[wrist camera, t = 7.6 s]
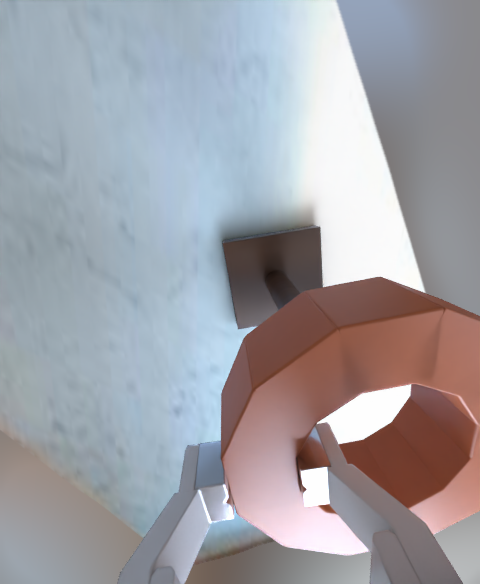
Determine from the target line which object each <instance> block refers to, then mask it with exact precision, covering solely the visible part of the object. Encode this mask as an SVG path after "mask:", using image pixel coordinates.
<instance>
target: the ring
mask: <svg viewBox="0 0 480 584" xmlns="http://www.w3.org/2000/svg"><path fill="white" fill-rule="evenodd" d="M409 384H411V396H410V397H409V399H408V400H407V401H406V403H405V404H404V406H403V407H402V409H401V410H400V411H399V413H398V414H397V416H396V417H395V418H394V420H393V421H392V422H391V423H390V424H388V425H387V426H385V427H383V428H382V429H380V430H378V431H377V432H375V433H373V434H372V435H370V436H369V437H367V438H365V439H364V440H360V441H354V442H349V443H344V444H338V445H339V447H340V449H341V451H342V453H343V455H344V457H345V459H346V462H347V464H353V465H354V466H355V467H357V468H358V469H359V470H360V471H362V472H363V473H364V474H365V475H367V476H368V477H369V478H370V479H372V480H373V481H374V482H375V483H377V484H378V485H379V486H380V487H382V488H383V489H384V490H385V491H387V492H388V493H389V494H390V495H392V496H393V497H394V498H395V499H396V500H398V501H399V502H400V503H401V504H403V505H404V506H405V507H406V508H408V509H409V510H410V511H411V512H413V513H414V514H415V515H416V516H418V517H419V518H420V519H421V520H423V521H424V522H425V523H426V525H427V526H428V528H429V529H430V531H431V533H432V534H435V533H437V532H439V531H441V530H443V529H445V528H447V527H449V526H451V525H453V524H455V523H457V522H458V521H460V520H462V519H464V518H466V517H468V516H471V515H472V514H474V513H476V512H478V511H480V316H478V315H476V314H474V313H471V312H469V311H467V310H464V309H462V308H460V307H458V306H455V305H453V304H451V303H449V302H446V301H444V300H442V299H439V298H436V297H434V296H431V295H428V294H426V293H423V292H421V291H418V290H415V289H412V288H410V287H407V286H404V285H402V284H399V283H396V282H393V281H391V280H388V279H385V278H383V277H375V278H370V279H365V280H360V281H354V282H349V283H344V284H338V285H333V286H328V287H323V288H317V289H312V290H307V291H304V292H302V293H300V294H299V295H298V296H297V297H295V298H294V299H293V300H291V301H290V302H289V303H288V304H286V305H285V306H284V307H282V308H281V309H280V310H278V311H277V312H276V313H275V314H273V315H272V316H271V317H269V318H268V319H267V320H265V321H264V322H263V323H262V324H260V325H259V326H258V327H256V328H255V329H254V330H253V331H251V332H250V333H249V334H247V335H246V337H245V338H244V339H243V342H242V344H241V347H240V349H239V351H238V354H237V356H236V359H235V361H234V364H233V366H232V368H231V371H230V373H229V376H228V378H227V381H226V383H225V386H224V388H223V390H222V395H221V461H222V465H223V468H224V469H225V471H226V475H227V479H228V485H229V489H230V491H231V494H232V498H233V502H234V506H235V509H236V513H237V514H238V515H239V516H240V517H242V518H243V519H244V520H246V521H247V522H249V523H250V524H252V525H253V526H255V527H256V528H258V529H259V530H261V531H262V532H264V533H265V534H267V535H268V536H270V537H271V538H272V539H274V540H275V541H277V542H278V543H280V544H281V545H283V546H285V547H291V548H297V549H305V550H313V551H319V552H327V553H334V554H341V555H352V554H359V553H364V552H369V550H368V549H367V548H366V546H365V545H364V544H363V543H362V542H361V541H360V540H359V538H358V537H357V536H356V535H355V534H354V533H353V531H352V530H351V529H350V528H349V527H348V526H347V525H346V523H345V522H344V521H343V520H342V519H341V518H340V517H339V515H338V514H337V513H336V512H335V511H334V510H333V508H332V507H331V506H330V505H329V503H328V504H321V505H313V506H306V507H305V505H304V501H303V498H302V494H301V490H300V482H299V475H298V467H297V460H296V458H297V456H298V454H299V452H300V451H301V449H302V447H303V446H304V444H305V442H306V441H307V439H308V437H309V435H310V434H311V432H312V430H313V429H314V427H315V425H316V424H317V422H319V421H320V420H322V419H323V418H325V417H326V416H328V415H329V414H331V413H333V412H334V411H336V410H337V409H339V408H340V407H342V406H343V405H345V404H346V403H348V402H349V401H351V400H353V399H354V398H356V397H357V396H359V395H360V394H362V393H367V392H372V391H377V390H383V389H388V388H393V387H399V386H404V385H409Z"/></svg>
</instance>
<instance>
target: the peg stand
mask: <svg viewBox="0 0 480 584" xmlns="http://www.w3.org/2000/svg"><path fill="white" fill-rule="evenodd" d="M223 249H224V254H225V260H226V265H227V271H228V276H229V282H230V287H231V293H232V298H233V304H234V309H235V315H236V320H237V326H238V329H243V328H249V327H255V326H259V325H260V324H262V323H263V322H264V321H265V320H267V319H268V318H269V317H271V316H272V315H273V314H275V313H276V312H277V311H278V310H280V309H281V308H282V307H284V306H285V305H286V304H288V303H289V302H290V301H291V300H293V299H294V298H295V297H297V296H298V295H299V294H300V293H302V292H304V291H307V290H312V289H317V288H323V284H322V259H321V233H320V227H319V226H309V227H303V228H297V229H291V230H285V231H279V232H273V233H267V234H261V235H255V236H249V237H243V238H237V239H231V240H225V241H223Z"/></svg>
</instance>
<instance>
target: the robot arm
mask: <svg viewBox="0 0 480 584" xmlns="http://www.w3.org/2000/svg"><path fill="white" fill-rule="evenodd" d="M296 460H297V467H298V475H299V482H300V490H301V494H302V498H303V501H304V505H305V507H306V506H313V505H321V504H328V503H329V505H330V506H331V507H332V508H333V510H334V511H335V512H336V513H337V514H338V515H339V517H340V518H341V519H342V520H343V521H344V522H345V523H346V525H347V526H348V527H349V528H350V529H351V530H352V531H353V533H354V534H355V535H356V536H357V537H358V538H359V540H360V541H361V542H362V543H363V544H364V545H365V546H366V548H367V549H368V550H369V551H370V552H371V568H370V584H463V583H462V581H461V579H460V578H459V576H458V574H457V573H456V571H455V570H454V568H453V567H452V565H451V563H450V562H449V560H448V558H447V557H446V555H445V554H444V552H443V550H442V549H441V547H440V545H439V544H438V542H437V541H436V539H435V537H434V536H433V534H432V533H431V531H430V529H429V528H428V526H427V525H426V523H425V522H424V521H423V520H421V519H420V518H419V517H418V516H416V515H415V514H414V513H413V512H411V511H410V510H409V509H408V508H406V507H405V506H404V505H403V504H401V503H400V502H399V501H398V500H396V499H395V498H394V497H393V496H392V495H390V494H389V493H388V492H387V491H385V490H384V489H383V488H382V487H380V486H379V485H378V484H377V483H375V482H374V481H373V480H372V479H370V478H369V477H368V476H367V475H365V474H364V473H363V472H362V471H360V470H359V469H358V468H357V467H355V466H354V465H353V464H347V462H346V459H345V457H344V455H343V453H342V451H341V449H340V447H339V445H338V442H337V440H336V438H335V436H334V434H333V432H332V430H331V428H330V425H329V424H328V423H327V422H326V423H320V424H316V425H315V427H314V429H313V430H312V432H311V434H310V435H309V437H308V439H307V441H306V442H305V444H304V446H303V447H302V449H301V451H300V452H299V454H298V456H297V458H296ZM229 519H234V502H233V498H232V494H231V491H230V489H229V485H228V479H227V475H226V471H225V469H224V468H223V465H222V461H221V441H215V442H207V443H200V444H194V445H188V446H187V448H186V450H185V456H184V462H183V468H182V474H181V480H180V487H179V493H174V495H173V496H172V498H171V499H170V501H169V502H168V504H167V505H166V506H165V508H164V509H163V511H162V512H161V514H160V515H159V517H158V518H157V520H156V521H155V523H154V524H153V525H152V527H151V528H150V530H149V531H148V533H147V534H146V536H145V537H144V539H143V540H142V542H141V543H140V544H139V546H138V548H137V549H136V551H135V552H134V553H133V555H132V556H131V558H130V559H129V561H128V562H127V564H126V565H125V567H124V568H123V569H122V571H121V572H120V576H119V579H118V583H117V584H184V583H185V581H186V579H187V577H188V574H189V572H190V570H191V567H192V565H193V563H194V561H195V559H196V556H197V554H198V552H199V550H200V547H201V545H202V543H203V541H204V538H205V536H206V534H207V532H208V529H209V527H210V523H214V522H219V521H224V520H229Z"/></svg>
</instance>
